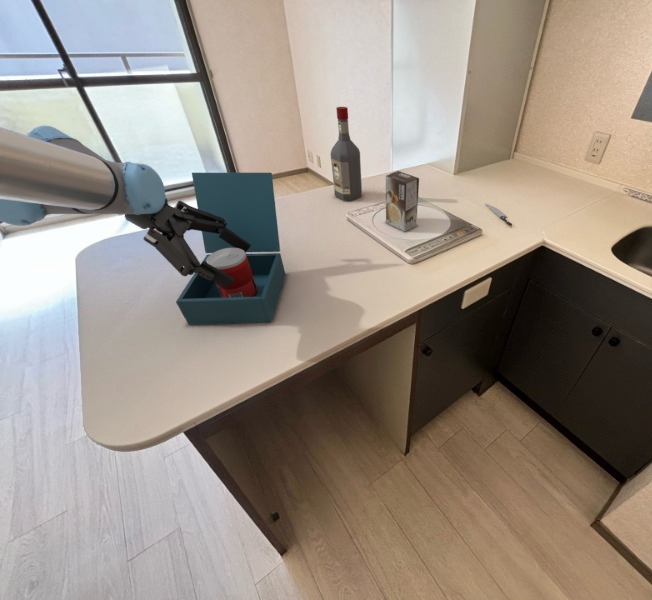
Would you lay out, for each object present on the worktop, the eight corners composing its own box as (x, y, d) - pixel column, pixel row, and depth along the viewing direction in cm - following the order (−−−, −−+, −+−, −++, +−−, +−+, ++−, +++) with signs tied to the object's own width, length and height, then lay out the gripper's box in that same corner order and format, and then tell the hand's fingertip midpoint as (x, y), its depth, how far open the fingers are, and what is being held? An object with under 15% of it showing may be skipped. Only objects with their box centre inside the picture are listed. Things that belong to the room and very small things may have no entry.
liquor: (350, 189, 131) (344, 103, 111) (365, 196, 126) (361, 108, 106) (331, 195, 126) (322, 107, 106) (347, 203, 121) (339, 112, 101)
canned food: (264, 291, 80) (252, 253, 72) (236, 310, 74) (220, 271, 67) (244, 281, 82) (230, 243, 75) (215, 298, 77) (198, 259, 70)
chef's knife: (491, 203, 125) (484, 203, 124) (492, 200, 124) (485, 200, 123) (517, 226, 111) (509, 227, 110) (518, 223, 110) (510, 224, 109)
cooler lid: (270, 172, 76) (276, 174, 81) (191, 172, 75) (201, 174, 79) (279, 251, 81) (284, 249, 86) (205, 253, 80) (213, 250, 84)
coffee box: (417, 225, 109) (420, 177, 99) (404, 232, 106) (406, 183, 95) (397, 216, 114) (398, 170, 103) (384, 222, 110) (384, 175, 100)
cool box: (271, 322, 73) (264, 298, 69) (188, 325, 72) (175, 301, 67) (285, 275, 86) (280, 253, 82) (216, 276, 85) (206, 254, 80)
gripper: (158, 189, 73) (246, 246, 84) (86, 248, 54) (212, 311, 65) (173, 165, 70) (262, 227, 81) (102, 218, 51) (231, 290, 62)
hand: (240, 265), depth 73 cm, fingers open, 13 cm apart
